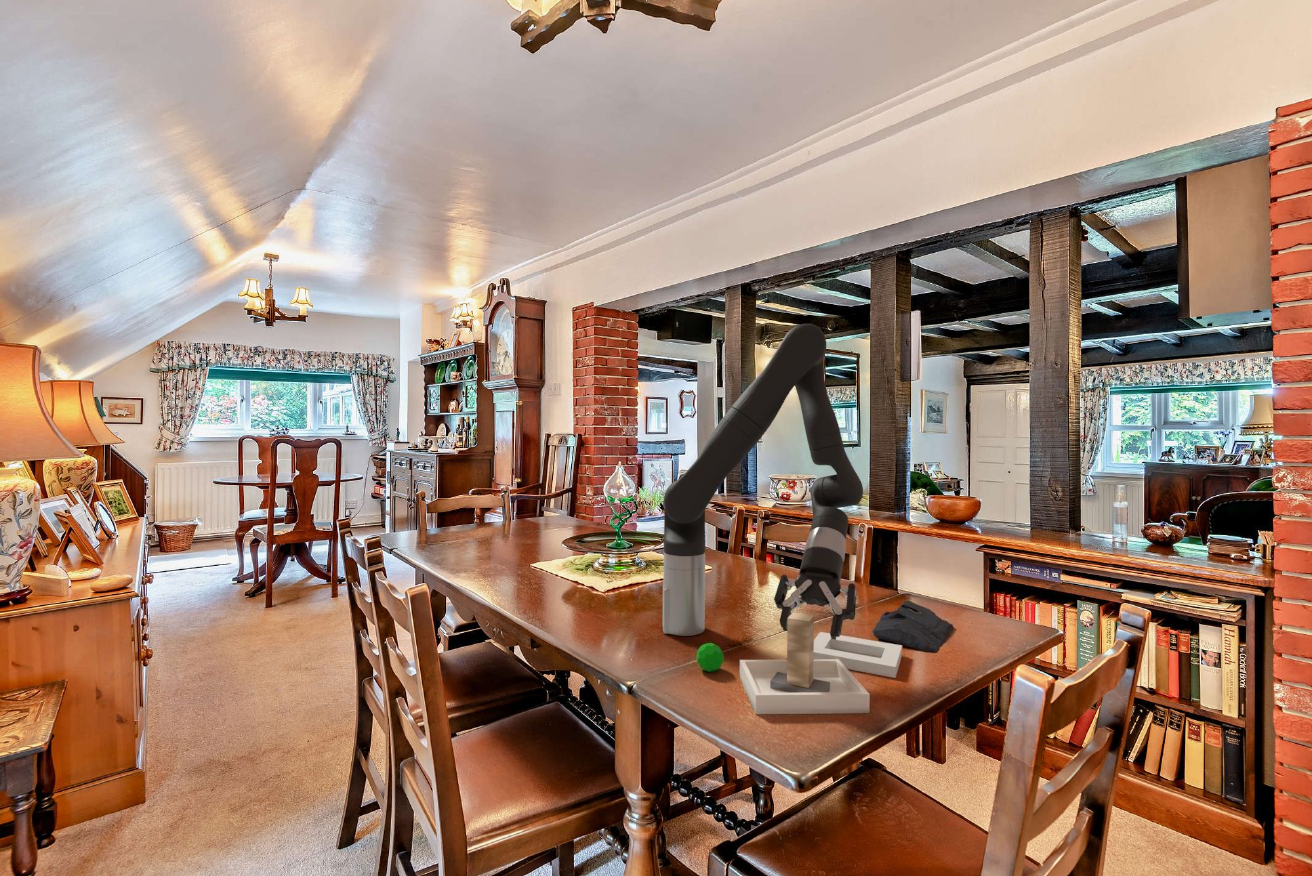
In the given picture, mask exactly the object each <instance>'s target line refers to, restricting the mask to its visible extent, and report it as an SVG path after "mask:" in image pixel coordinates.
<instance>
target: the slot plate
mask: <svg viewBox="0 0 1312 876" xmlns="http://www.w3.org/2000/svg"><path fill="white" fill-rule="evenodd" d="M902 657H903V645H901V644H897V643H896V644H894V643H890V642H884V641H877V640H873V639H872V640H870V639H865V638H859V637H853V636H848V635H842V634H841V635H840V636H839V637H836V640H834V639H831V636H830V632H823V631H820V632H819V633H818V634H817V635H816V637H814V659H839V660H840V661H841V662H842V664H843V665H844V666H845V667H846V668H847V669H848V670H849V671H850V670H852V671H856V672H863V673H867V674H871V675H878V676H883V677H888V678H893V679H896V678H897V675H898V671H899V667H900V664H901V660H902Z"/></svg>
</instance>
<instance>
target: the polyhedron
mask: <svg viewBox="0 0 1312 876" xmlns="http://www.w3.org/2000/svg"><path fill="white" fill-rule="evenodd" d="M724 655H725V654H724V653H723V651H722V650H721V648H720V646H718V645H717V644H715V643H712V642H709V643H708V642H707V643H704V644H702V645H700V647H699V648H698V649H697V652H696V658H695V659H696V662H697V663H698V666H699V667H700V669H701V670H704V671H705V672H707V673H712V672H716V671H717V670H720V668H721V667H722V666H723V663H724V660H725V659H724V657H725V656H724Z"/></svg>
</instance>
